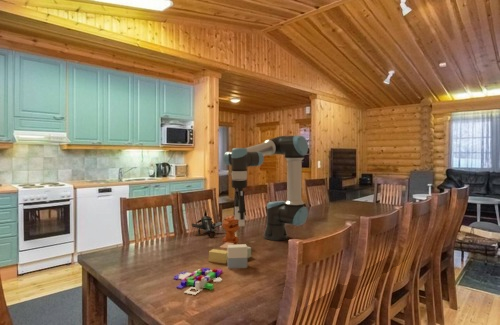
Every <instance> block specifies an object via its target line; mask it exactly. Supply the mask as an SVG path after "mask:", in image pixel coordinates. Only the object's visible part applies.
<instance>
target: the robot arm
mask: <svg viewBox="0 0 500 325" xmlns="http://www.w3.org/2000/svg"><path fill="white" fill-rule="evenodd" d="M308 152H309V145H308V140H307V139H306V138H305V137H304V136H303V135H297V134H296V135H280V136H277V137H273V138H270V139H267V140H265V141H264V142H262V143H259V144H255V145H252V146H249V147H248V146H247V147H234V148H232V149H231V151H226V152H224V155H223V163H224V164H225V165H226V166H231V172H230V176H231V179H232V180H231V187H232V188H233V189H234V199H233V205H234V215H235V216H234V217H235V220H238V219H239V222H238V224H239V226H240V227H246V226H245V224H246V220H245V218H246V216H245V214H246V201H245V191H244V190H243V189H246V188H247V187H248V180H247V179H248V168H249V167H250V168H251V167H259V166H261V165H263V163H264V162H265V161H264V160H265V158H264V157H265V156H273V155H274V156H275V155H280V156H281V155H283V156H284V159H285V160H286V161H287V162H286V163H287V165H286V167H287V169H286V170H287V171H286V172H287V173H286V174H287V175H286V177H287V178H286V186H287V188H286V193H287V194H286V196H287V197H286V198H287V199H286V201H285V200H277V201H276V200H275V201H269V202H267V204H266V226H265V229H264V232H263V238H264V239H266V240H270V241H284V240H287V239H288V231H287V228H286V224H288V225H292V226H298V227H299V226H302V225H304V224H305V223H306V221H307V219H308V216H309V209H308V208H307V207H306V206H305V203H304V201H303V200H302V177H303V176H302V175H303V174H302V173H303V172H302V168H303V167H302V166H303V165H302V161H303V160H304V159H305V156H306V155H307V154H308Z"/></svg>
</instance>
